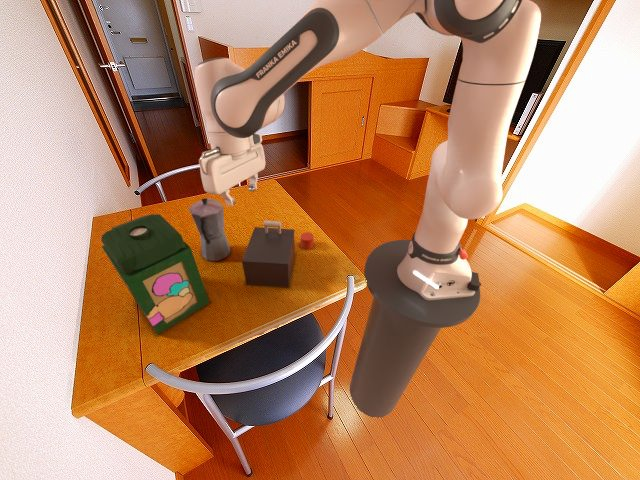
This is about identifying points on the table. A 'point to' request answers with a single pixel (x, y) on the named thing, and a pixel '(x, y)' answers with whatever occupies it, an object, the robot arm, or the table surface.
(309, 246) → the coffee capsule
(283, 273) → the dark carry box
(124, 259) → the container
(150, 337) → the table surface
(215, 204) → the moka pot
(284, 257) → the lid
